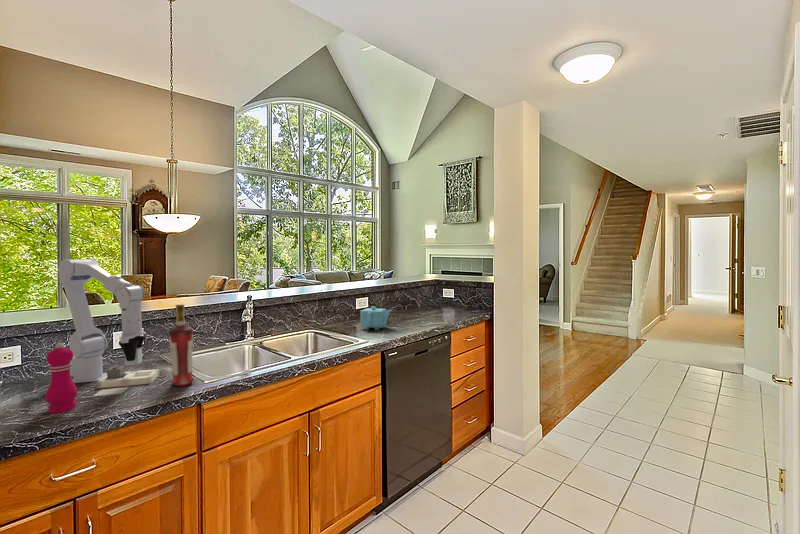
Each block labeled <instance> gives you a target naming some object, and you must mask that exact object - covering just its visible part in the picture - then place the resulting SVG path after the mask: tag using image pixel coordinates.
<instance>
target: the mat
mask: <svg viewBox="0 0 800 534" xmlns="http://www.w3.org/2000/svg"><path fill="white" fill-rule="evenodd" d="M128 388H129V386H123V387H115V388H114V387H112V388H106V389H105V388H102V389H100V390H99V391H98V392H97V393H95V394H93V397H99V396H107V395H108V396H109V395H117V394H118V395H119V394H120V395H121V394H123V393H124V392H125V391H126V390H127V389H128Z"/></svg>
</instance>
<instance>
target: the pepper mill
mask: <svg viewBox="0 0 800 534" xmlns="http://www.w3.org/2000/svg"><path fill="white" fill-rule="evenodd" d="M72 359H73V352H72V351H71V350H70V348H68V347H64V343H62V342H58V343H56V344H55V348H53V349H52V350H50V351H48V353H47V355H46V362H47V364H49V365H50V366H49V367H48V368H49V372H51V378H50V379H51V380H50V384H49V385H48V388H47V390H46V394H45V401H46V402H47V403H48V404H49V405H48V410H47V411H48V413H49V414H60V413H64V412H68V411H71V410H74V409H75V408H76V407H77V400H75V399H76V398H77V397H78V393H79V392H78V388H77V385H76V383H74V382H73V381H72V379H71V376H70V368H71V367H72V366H71V364H72V363H70V361H71V360H72Z"/></svg>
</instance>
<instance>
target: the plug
mask: <svg viewBox="0 0 800 534" xmlns="http://www.w3.org/2000/svg"><path fill="white" fill-rule="evenodd" d="M142 362H143V346H142V347H140V348H136V355H135V360H134V361H127V359H126V357H125V356H124V366H132V365H133V366H134V365H139V364H141V363H142Z"/></svg>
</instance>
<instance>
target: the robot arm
mask: <svg viewBox="0 0 800 534" xmlns="http://www.w3.org/2000/svg"><path fill="white" fill-rule="evenodd" d="M57 271H58V274H59V278H60V282H61V284H62V285H63V289H64V291H65V294H66V295H65V296H66V299H67V302H68V306H69V309H70V314H71V317H72V321H73V324H74V329H75V331H74V332H73V333H72V335H70V336H69V338H68V340H69V348H68V349H70V350H71V351H72V352H73V359H72V360H71V361H70V363H72V364H71V366H72V367H71V368H70V376H71V379H72V381H73V382H74V384H76V383H88V382H98V381H99V380H100V379H102V378H103V377H105V376H106V375H107V372H103V353H105V350H106V349H107V347H108V339H107V337H106V336H105V335H104V332H103V330H102V329H100V328H98V327H96V326H95V325H94V320H93V317H92V313H91V309H90V306H89V303H88V299H87V296H86V291H85V288H84V285H85V284H86V283H88V282H89V281H90V280H91V279H92V278H93V279H95V280H97V281H99V282H100V283H102V284H103V287H104V289H106V290H107V291H108V292H110V293H111V294H112V295H114V296H115V297H116V301H117V302H118V306H119V309H121V310H120V311H121V331H122V333H121V337H120V341H118V346H119V347H120V348H121V349H122V351H123V353H124V358H125V357H126V359H127V361H134V360H135V355H136V348H140V347H142V348H143V343H144V342H145V340H146V338H147V337H146V334H147V331H144V329H143V326H142V325H143V321H142V320H143V319H142V301H143V300H144V299H145V296H146V295H145V293H146V292H145V290H144V288H143V287H142V286H141V285H140V284H135V285H134V284H132V283H131V282H129V281H128V280H127V281H126V280H125V279H124V278H123V277H122V276H121V275H120V274H119V275H118V274H114V275H112V274H110V273H109V272H108V271H107V270H105V269H104V268H102V267H101V266H100V264H99V262H98V261H96V260H95V259H93V258H86V259H85V258H83V259H81V258H80V259H79V258H78V259H67V258H66V259H63V260H61V261H60V263H59V265H58V267H57Z"/></svg>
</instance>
